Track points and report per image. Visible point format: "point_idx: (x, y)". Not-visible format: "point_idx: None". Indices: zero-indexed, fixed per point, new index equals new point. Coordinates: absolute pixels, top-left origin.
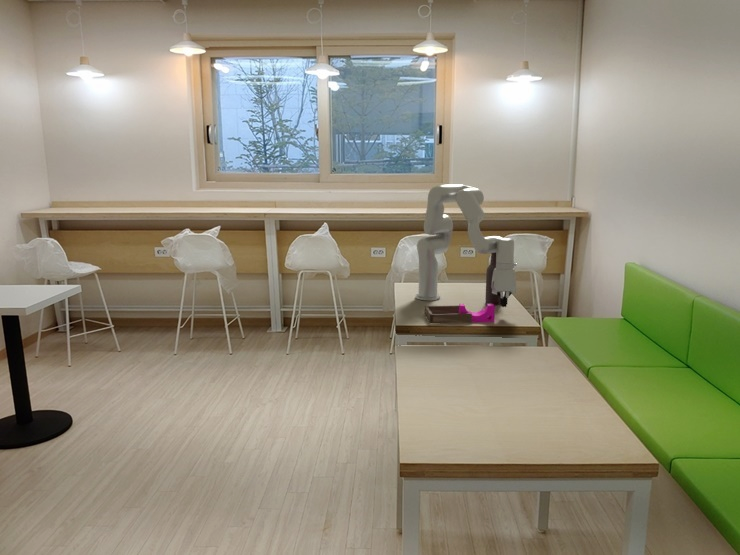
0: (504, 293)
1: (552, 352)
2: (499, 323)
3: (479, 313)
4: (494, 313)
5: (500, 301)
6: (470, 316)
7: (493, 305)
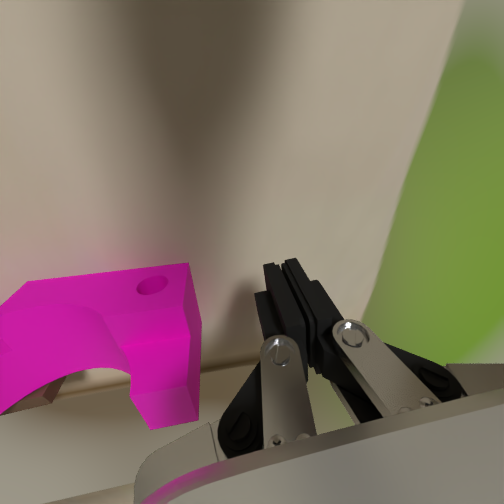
0: (356, 368)
1: None
2: (226, 336)
3: (97, 341)
4: (199, 365)
5: (261, 327)
6: (54, 386)
7: (188, 416)
